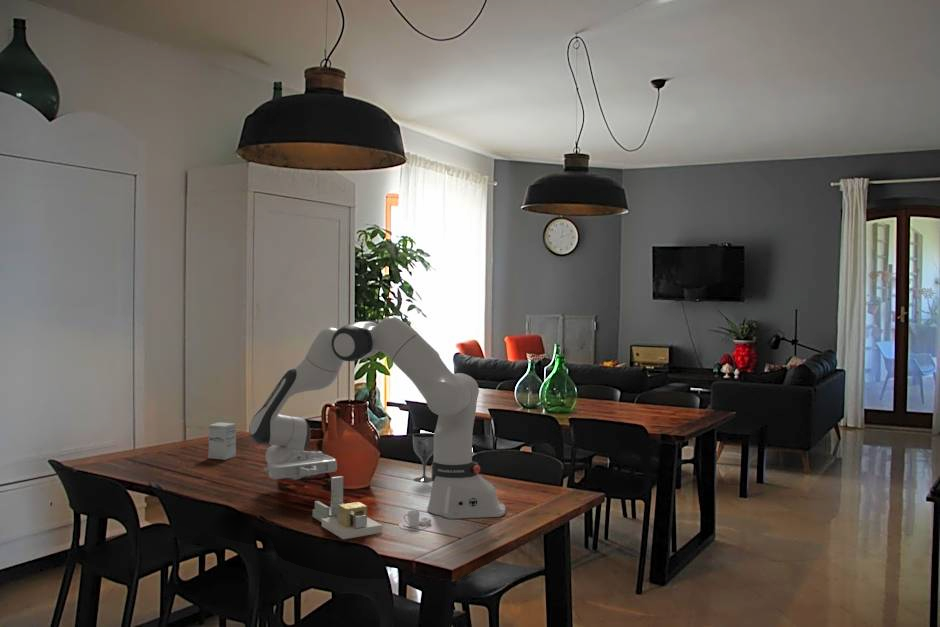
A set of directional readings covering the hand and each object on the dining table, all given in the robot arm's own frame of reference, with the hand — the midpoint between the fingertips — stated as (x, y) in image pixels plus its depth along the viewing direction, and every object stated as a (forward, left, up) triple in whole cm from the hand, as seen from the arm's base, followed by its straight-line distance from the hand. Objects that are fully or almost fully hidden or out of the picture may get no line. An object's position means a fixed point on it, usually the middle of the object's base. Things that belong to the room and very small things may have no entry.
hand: (313, 472), depth 231 cm
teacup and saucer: (-33, +18, -11) cm, 39 cm away
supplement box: (+47, -67, -10) cm, 82 cm away
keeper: (-15, +23, -8) cm, 28 cm away
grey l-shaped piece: (-13, +20, -8) cm, 26 cm away
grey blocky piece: (-7, +11, -10) cm, 16 cm away
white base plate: (-14, +21, -10) cm, 27 cm away
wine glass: (-30, -36, -10) cm, 48 cm away
